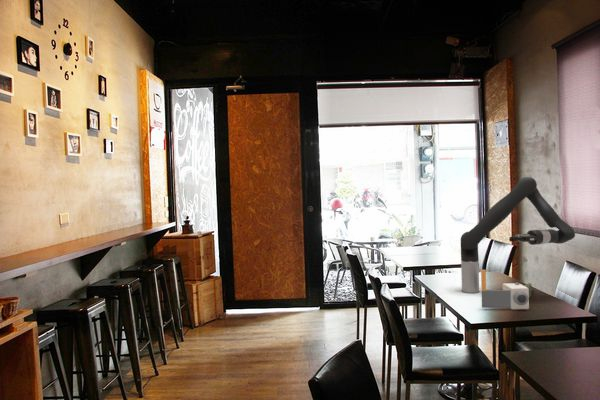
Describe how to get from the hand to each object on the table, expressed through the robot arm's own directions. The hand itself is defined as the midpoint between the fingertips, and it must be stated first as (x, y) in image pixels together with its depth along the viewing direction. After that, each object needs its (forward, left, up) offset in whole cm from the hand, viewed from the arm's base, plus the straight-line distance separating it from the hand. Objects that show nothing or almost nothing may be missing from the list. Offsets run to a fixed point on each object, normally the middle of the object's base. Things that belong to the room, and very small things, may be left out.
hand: (510, 239), depth 252 cm
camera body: (+9, -1, -32) cm, 33 cm away
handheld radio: (-8, +10, -33) cm, 35 cm away
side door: (+13, -12, -31) cm, 36 cm away
